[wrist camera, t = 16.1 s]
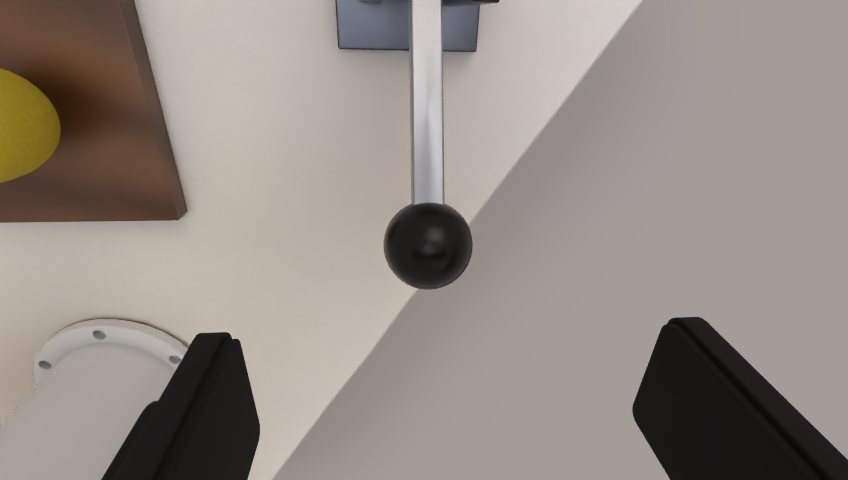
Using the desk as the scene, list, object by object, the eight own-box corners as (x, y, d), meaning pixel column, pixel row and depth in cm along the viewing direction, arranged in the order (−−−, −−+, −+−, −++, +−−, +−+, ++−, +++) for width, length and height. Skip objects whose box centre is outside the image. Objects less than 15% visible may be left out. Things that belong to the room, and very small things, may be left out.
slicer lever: (463, 281, 17) (481, 295, 14) (384, 283, 17) (384, 298, 14) (460, -79, 16) (479, -150, 13) (377, -83, 16) (376, -157, 13)
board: (187, 211, 29) (178, 220, 28) (-3, 213, 28) (-22, 223, 27) (126, -30, 23) (111, -32, 21) (-125, -39, 22) (-157, -42, 20)
